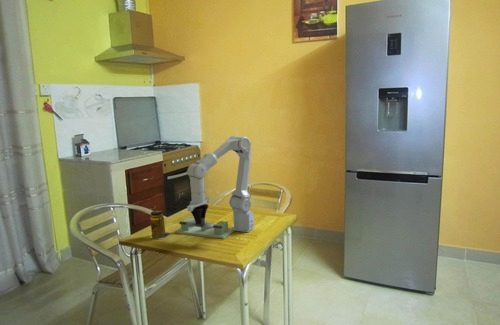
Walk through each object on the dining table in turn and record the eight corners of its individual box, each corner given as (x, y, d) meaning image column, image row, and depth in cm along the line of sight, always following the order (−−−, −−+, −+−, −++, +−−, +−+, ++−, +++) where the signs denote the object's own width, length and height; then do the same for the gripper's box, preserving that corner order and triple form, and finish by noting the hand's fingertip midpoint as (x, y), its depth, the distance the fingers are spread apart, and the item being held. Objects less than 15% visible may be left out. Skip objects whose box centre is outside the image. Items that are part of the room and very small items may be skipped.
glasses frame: (224, 226, 142) (224, 218, 141) (219, 230, 137) (218, 222, 136) (183, 221, 150) (182, 214, 149) (176, 225, 145) (176, 218, 145)
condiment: (148, 238, 152) (145, 213, 150) (159, 231, 160) (157, 207, 158) (161, 240, 149) (158, 214, 147) (172, 233, 157) (170, 208, 155)
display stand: (234, 231, 156) (233, 220, 155) (224, 238, 147) (223, 228, 146) (187, 225, 166) (186, 216, 165) (175, 232, 157) (174, 222, 156)
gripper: (198, 187, 149) (201, 216, 151) (180, 195, 136) (182, 227, 138) (212, 188, 146) (214, 217, 149) (194, 196, 133) (197, 228, 135)
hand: (200, 222), depth 143 cm, fingers closed on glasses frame, 2 cm apart
